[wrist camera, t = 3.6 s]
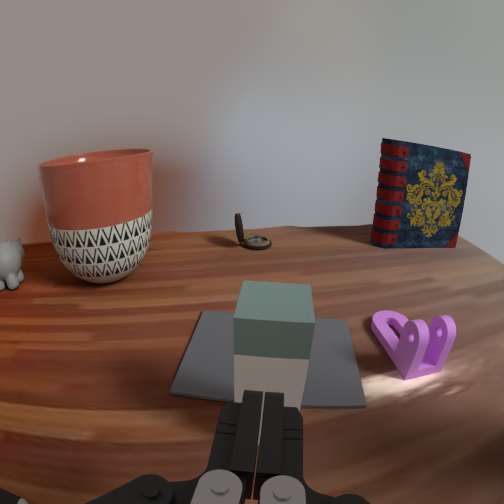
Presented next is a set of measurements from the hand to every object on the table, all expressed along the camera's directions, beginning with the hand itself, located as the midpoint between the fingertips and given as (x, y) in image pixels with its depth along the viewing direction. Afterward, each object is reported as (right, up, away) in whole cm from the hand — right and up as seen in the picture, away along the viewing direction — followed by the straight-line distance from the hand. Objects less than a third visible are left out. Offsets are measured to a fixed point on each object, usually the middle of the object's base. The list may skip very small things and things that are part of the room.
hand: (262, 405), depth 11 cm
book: (+40, +8, +62) cm, 75 cm away
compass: (0, +7, +59) cm, 60 cm away
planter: (-26, +1, +43) cm, 50 cm away
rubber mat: (+2, -6, +25) cm, 26 cm away
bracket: (+19, -7, +27) cm, 34 cm away
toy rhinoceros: (-47, 0, +39) cm, 61 cm away
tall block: (+1, -10, +16) cm, 19 cm away
